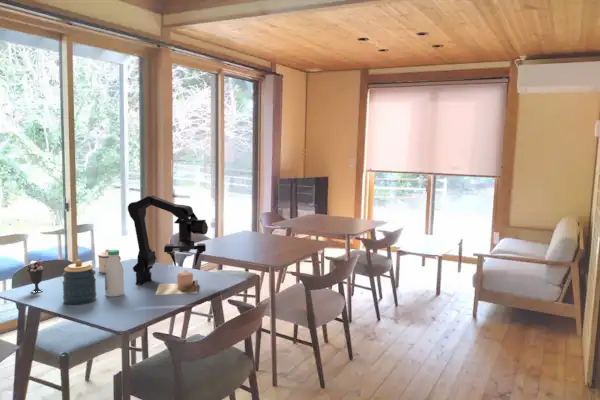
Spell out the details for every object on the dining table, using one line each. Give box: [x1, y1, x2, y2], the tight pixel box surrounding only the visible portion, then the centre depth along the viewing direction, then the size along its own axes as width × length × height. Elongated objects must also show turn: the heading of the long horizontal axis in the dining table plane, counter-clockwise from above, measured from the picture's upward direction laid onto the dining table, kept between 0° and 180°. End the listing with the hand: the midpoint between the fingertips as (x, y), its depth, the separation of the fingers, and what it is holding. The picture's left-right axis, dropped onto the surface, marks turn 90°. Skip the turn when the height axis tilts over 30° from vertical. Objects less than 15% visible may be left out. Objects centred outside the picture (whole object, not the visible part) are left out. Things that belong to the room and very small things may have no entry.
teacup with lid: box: [97, 248, 122, 274], centre depth 252 cm, size 12×9×12 cm
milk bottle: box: [104, 249, 125, 298], centre depth 212 cm, size 8×8×20 cm
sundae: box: [26, 259, 45, 292], centre depth 215 cm, size 7×7×15 cm
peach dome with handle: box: [176, 269, 194, 290], centre depth 222 cm, size 11×7×6 cm, turn 11°
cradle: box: [155, 279, 199, 296], centre depth 220 cm, size 18×16×3 cm
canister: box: [62, 259, 97, 305], centre depth 204 cm, size 13×13×18 cm
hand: (185, 265), depth 225 cm, fingers open, 9 cm apart
